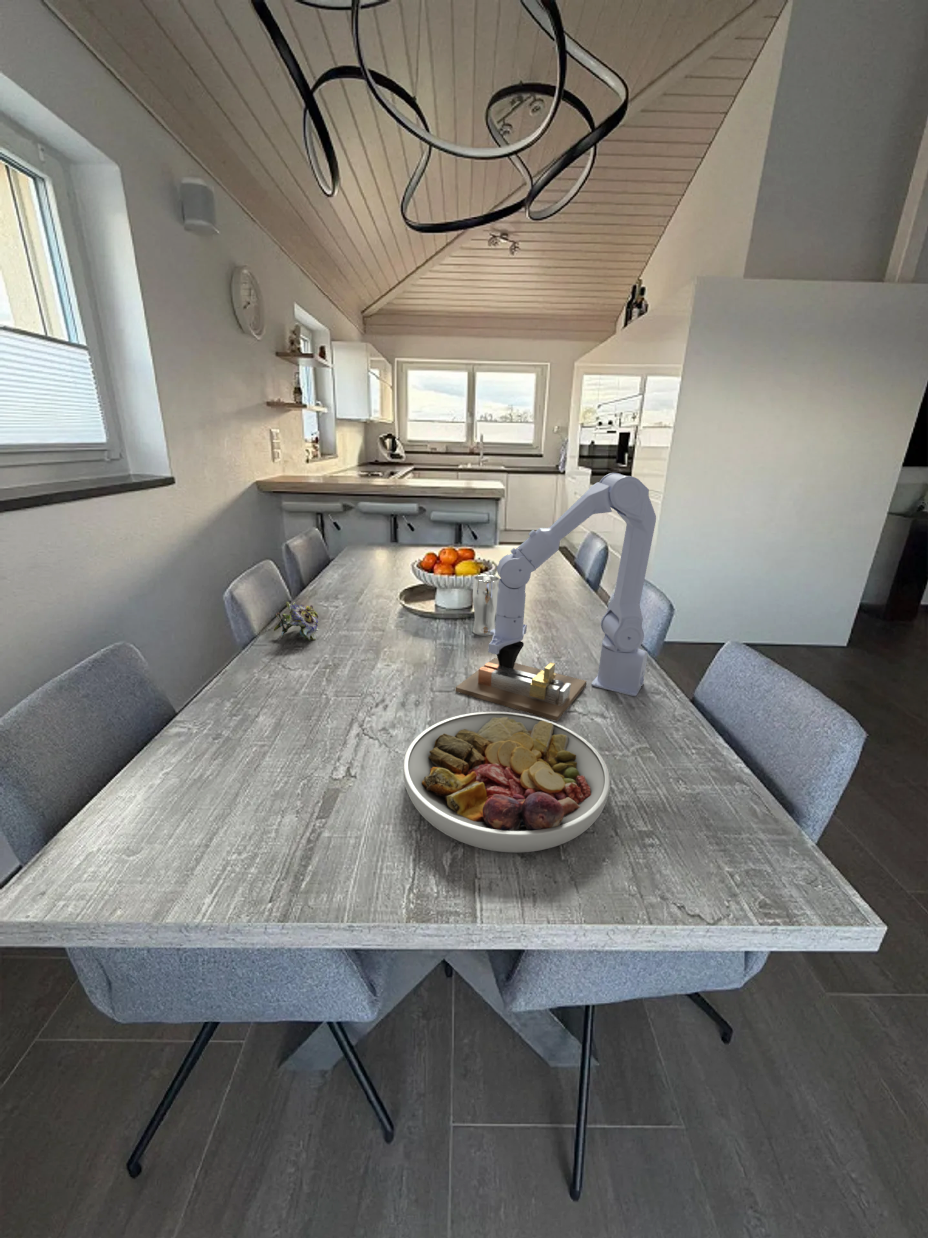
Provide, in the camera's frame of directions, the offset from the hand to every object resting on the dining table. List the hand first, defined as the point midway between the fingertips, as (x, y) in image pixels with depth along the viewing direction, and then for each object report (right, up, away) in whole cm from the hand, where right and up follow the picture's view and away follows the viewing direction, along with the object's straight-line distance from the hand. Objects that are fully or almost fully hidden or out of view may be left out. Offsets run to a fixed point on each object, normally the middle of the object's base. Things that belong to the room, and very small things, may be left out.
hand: (506, 674), depth 112 cm
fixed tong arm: (+3, -3, -5) cm, 6 cm away
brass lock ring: (+7, -3, -7) cm, 10 cm away
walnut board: (+3, -3, -2) cm, 5 cm away
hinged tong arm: (+3, -2, -3) cm, 5 cm away
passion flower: (-51, +7, +20) cm, 55 cm away
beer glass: (-4, +8, +29) cm, 30 cm away
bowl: (-3, -14, -33) cm, 36 cm away
